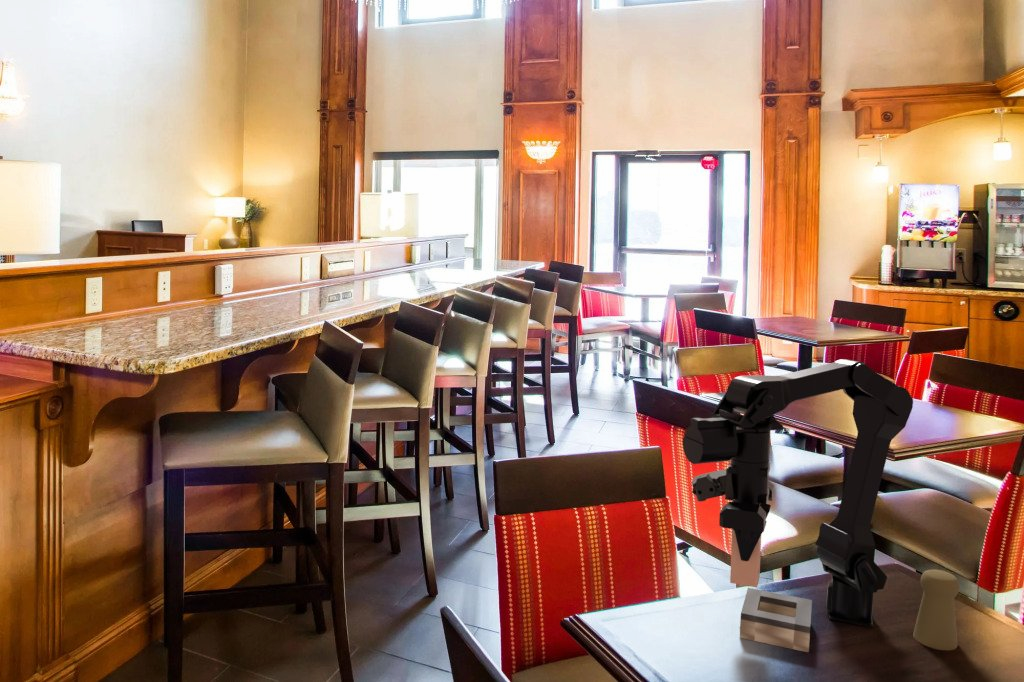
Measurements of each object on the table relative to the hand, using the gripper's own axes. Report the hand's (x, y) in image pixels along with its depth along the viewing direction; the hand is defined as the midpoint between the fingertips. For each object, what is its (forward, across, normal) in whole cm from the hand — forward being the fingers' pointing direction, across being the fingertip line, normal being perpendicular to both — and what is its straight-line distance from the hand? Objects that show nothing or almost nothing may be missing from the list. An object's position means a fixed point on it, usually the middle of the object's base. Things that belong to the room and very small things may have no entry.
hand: (746, 555), depth 113 cm
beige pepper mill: (+13, -11, +28) cm, 32 cm away
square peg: (+4, 0, 0) cm, 4 cm away
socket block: (+13, -3, +5) cm, 14 cm away
